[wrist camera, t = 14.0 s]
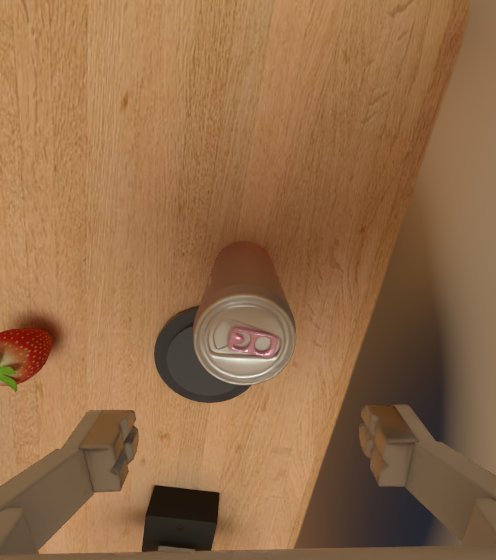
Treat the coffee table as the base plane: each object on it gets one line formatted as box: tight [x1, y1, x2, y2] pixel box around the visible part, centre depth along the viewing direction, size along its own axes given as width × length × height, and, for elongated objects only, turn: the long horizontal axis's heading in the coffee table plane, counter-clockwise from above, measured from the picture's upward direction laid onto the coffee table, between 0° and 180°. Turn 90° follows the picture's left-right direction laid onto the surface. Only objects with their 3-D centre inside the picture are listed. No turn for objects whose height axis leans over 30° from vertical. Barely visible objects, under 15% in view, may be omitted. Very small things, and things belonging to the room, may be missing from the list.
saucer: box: [154, 307, 251, 403], centre depth 32 cm, size 12×12×1 cm
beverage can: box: [193, 242, 296, 385], centre depth 23 cm, size 6×6×15 cm
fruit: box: [0, 328, 52, 392], centre depth 28 cm, size 5×5×8 cm
